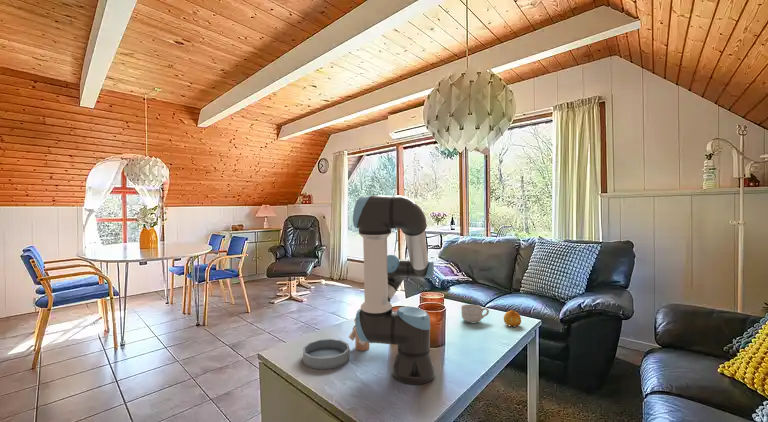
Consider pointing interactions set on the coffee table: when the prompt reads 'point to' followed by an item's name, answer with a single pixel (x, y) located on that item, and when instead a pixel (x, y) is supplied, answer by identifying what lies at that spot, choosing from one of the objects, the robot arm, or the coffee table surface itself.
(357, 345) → the terracotta jar
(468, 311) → the teacup
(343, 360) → the slate bowl
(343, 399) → the coffee table surface
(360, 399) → the coffee table surface
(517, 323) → the fruit
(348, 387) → the coffee table surface
